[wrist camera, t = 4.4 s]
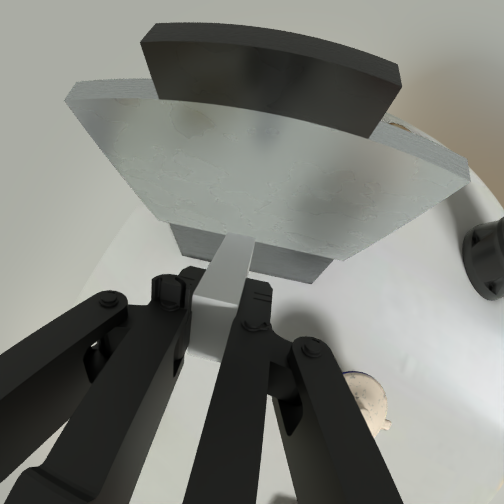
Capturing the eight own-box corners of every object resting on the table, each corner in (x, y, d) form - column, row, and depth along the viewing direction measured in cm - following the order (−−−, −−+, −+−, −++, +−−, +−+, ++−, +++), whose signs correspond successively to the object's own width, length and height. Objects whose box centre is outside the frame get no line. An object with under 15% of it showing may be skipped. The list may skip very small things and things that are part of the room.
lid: (506, 126, 7) (513, 150, 6) (344, 249, 27) (343, 261, 27) (52, 40, 7) (36, 59, 7) (162, 209, 27) (158, 220, 27)
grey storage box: (340, 184, 45) (366, 135, 34) (331, 288, 38) (368, 256, 27) (199, 154, 46) (193, 99, 35) (162, 250, 39) (138, 206, 28)
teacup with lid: (277, 422, 31) (297, 446, 20) (308, 360, 34) (340, 357, 24) (355, 448, 30) (398, 472, 19) (382, 390, 33) (432, 393, 22)
